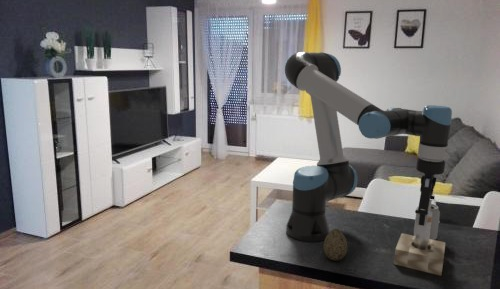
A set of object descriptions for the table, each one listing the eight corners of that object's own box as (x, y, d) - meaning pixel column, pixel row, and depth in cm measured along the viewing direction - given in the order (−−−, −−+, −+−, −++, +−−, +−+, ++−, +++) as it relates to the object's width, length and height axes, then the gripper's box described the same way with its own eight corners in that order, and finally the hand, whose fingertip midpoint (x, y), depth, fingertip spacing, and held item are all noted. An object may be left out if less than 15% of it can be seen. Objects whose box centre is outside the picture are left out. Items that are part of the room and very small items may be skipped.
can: (439, 243, 132) (443, 210, 130) (415, 241, 134) (419, 208, 131) (433, 234, 140) (437, 202, 137) (411, 232, 141) (415, 200, 139)
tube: (411, 261, 119) (417, 212, 116) (412, 256, 123) (418, 208, 120) (425, 265, 118) (432, 215, 114) (426, 259, 121) (433, 211, 118)
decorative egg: (346, 266, 116) (348, 235, 114) (322, 263, 117) (324, 232, 115) (346, 255, 122) (348, 225, 120) (323, 252, 124) (325, 223, 122)
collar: (393, 264, 118) (395, 248, 117) (400, 247, 129) (401, 233, 128) (441, 275, 112) (443, 259, 111) (443, 257, 123) (445, 242, 122)
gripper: (443, 170, 101) (432, 245, 106) (447, 152, 123) (438, 215, 127) (412, 166, 105) (403, 238, 109) (421, 149, 126) (413, 210, 131)
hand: (422, 226), depth 118 cm, fingers open, 13 cm apart
